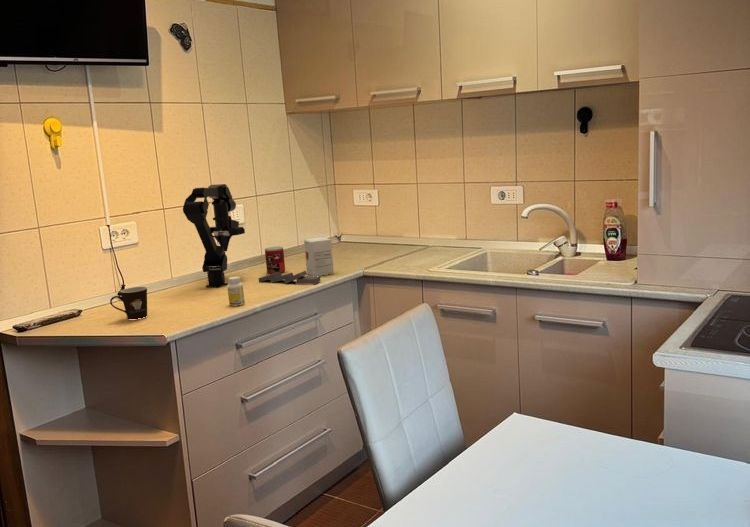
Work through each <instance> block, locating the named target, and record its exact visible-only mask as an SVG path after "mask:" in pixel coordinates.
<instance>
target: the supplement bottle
mask: <svg viewBox="0 0 750 527" xmlns="http://www.w3.org/2000/svg"><path fill="white" fill-rule="evenodd" d="M227 280H228V284H227V287H226V288H227V295H228V303H229V304H228V305H229V306H230V305H233V306H232V307H236V306H235V305H240V306H242V304H243V305H245V293H244V286H243V283H242V282H241V277H240V276H230V277H228V278H227Z"/></svg>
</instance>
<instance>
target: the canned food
mask: <svg viewBox="0 0 750 527" xmlns="http://www.w3.org/2000/svg"><path fill="white" fill-rule="evenodd" d="M284 253H285V252H284V246H281V245H280V246H269V247H266V248H265V249H264V256H265V264H266V265H265V266H266V272H267V275H269V274H274V273H277V272H281V273H282V274H285V271H286V264H285V255H284Z"/></svg>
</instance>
